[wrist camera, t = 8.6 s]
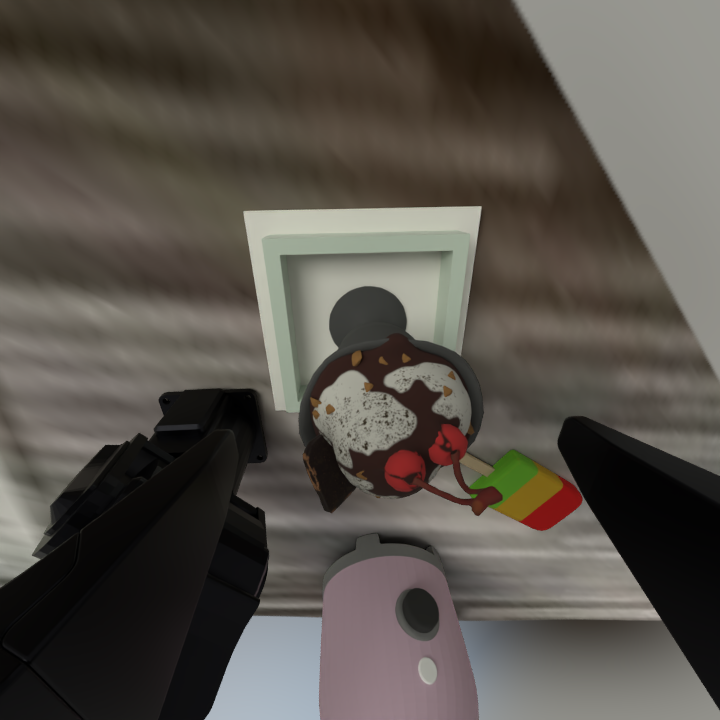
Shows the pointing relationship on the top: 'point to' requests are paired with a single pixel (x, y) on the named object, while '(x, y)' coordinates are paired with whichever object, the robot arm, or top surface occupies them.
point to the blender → (392, 638)
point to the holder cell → (356, 278)
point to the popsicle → (526, 490)
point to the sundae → (387, 408)
